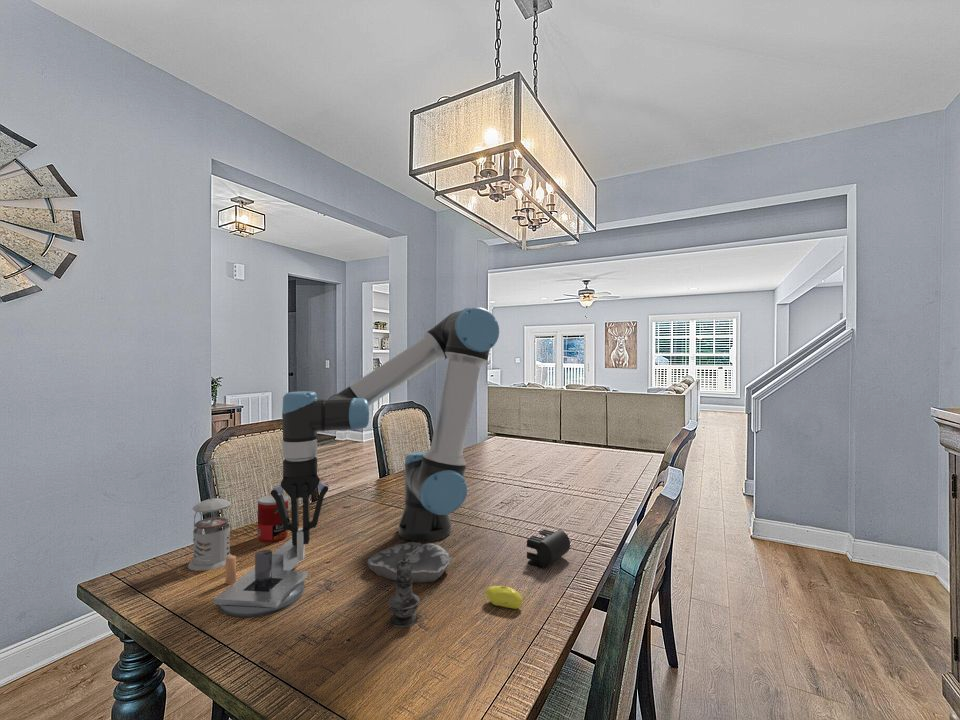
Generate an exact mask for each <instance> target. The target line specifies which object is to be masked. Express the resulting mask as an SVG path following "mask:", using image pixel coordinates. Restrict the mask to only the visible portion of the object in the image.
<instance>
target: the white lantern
mask: <svg viewBox="0 0 960 720" xmlns="http://www.w3.org/2000/svg"><path fill="white" fill-rule="evenodd" d="M207 465H208V466H211V487H210V488H211V494H210V495H211V496H210V497H211V498H208V499H205V500H202V501H201V502H199V503H196V504H195V505H194V506H193V507H192V510H193V511H194V512H195V513H194V516H193V527H194V529H193V531H192V533H193V535H192V536H193V538H192V542H193V543H192V548H193V549H192V560H191V561H190V562H189V563H188V565H187V568H189V570H190V571H191V570H192V571H197V572H199V571H201V572H202V571H204V572H205V571H211V570H215V569H218V568H221V567H225V566H226V558H227V557H229V556H234V555H233V554H232V553H230V551H231V550H230V549H231V548H230V547H231V546H230V543H231V541H230V539H231V538H230V537H231V536H230V533H231V530H230V529H231V525H230V524H229V523H228V522H229V518H227V517H223V516H216V517H215V516H214V517H213V513H216V512H219V511H222V510H226V509H228V508H229V507H230V506H231V504H232V502H230V501H229V500H227V499H223V498H219V497H218V498H214V497H213V493H214V492H213V488H214V485H213V484H214V483H213V481H214V478H213V477H214V475H213V474H214V473H213V472H214V468H213V467H214V466H215V465H217V461H216V459H210V460H208V462H207ZM198 513H199V515H200V520H199V521H197V522H196V517H197V514H198ZM208 513H210V514H211V515H210V517H207V518H204V519H203V515H206V514H208ZM220 528H224V529H220ZM218 529H219V530H218ZM203 544H204V545H203ZM203 550H204V551H203Z"/></svg>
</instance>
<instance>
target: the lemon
mask: <svg viewBox="0 0 960 720" xmlns="http://www.w3.org/2000/svg"><path fill="white" fill-rule="evenodd" d="M484 592H485V593H484V594H485V597H486V598H487V599H489V601H490V602H491V603H492V604H493V605H494V606H497V607H498V606H499V607H503V608H507V609H512V610H513V609H514V610H516V609H519V608H521V607H522V605H523V601H524V600H523V596H522V595H521V594H520V593H519V592H518V591H517V589H514V588H512V587H510V586H506V585H494V586H493V585H492V586H489V587H487V588H486V590H485V591H484Z"/></svg>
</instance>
